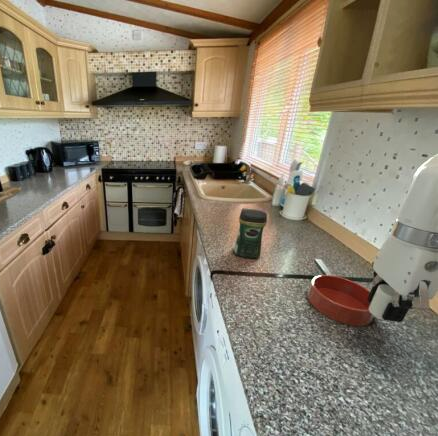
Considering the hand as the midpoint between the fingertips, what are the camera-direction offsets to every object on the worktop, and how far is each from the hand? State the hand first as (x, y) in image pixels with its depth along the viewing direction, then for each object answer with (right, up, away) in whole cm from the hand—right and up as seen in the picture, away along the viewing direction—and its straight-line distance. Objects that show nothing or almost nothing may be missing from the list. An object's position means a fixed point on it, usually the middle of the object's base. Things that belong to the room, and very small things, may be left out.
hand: (383, 310), depth 51 cm
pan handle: (+8, +2, +29) cm, 30 cm away
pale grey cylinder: (0, -1, 0) cm, 1 cm away
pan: (+5, -6, +19) cm, 20 cm away
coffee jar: (-11, +5, +45) cm, 47 cm away
